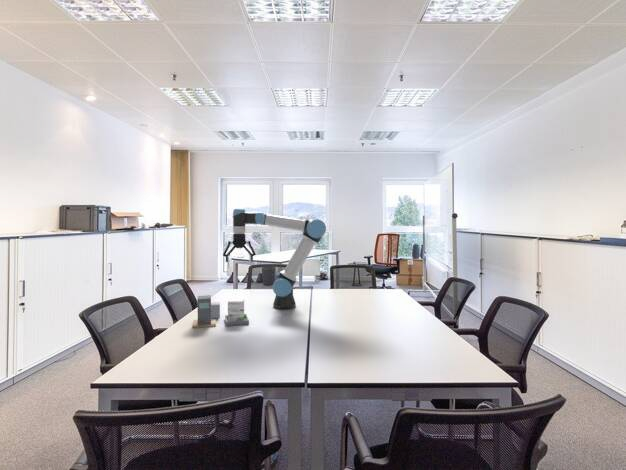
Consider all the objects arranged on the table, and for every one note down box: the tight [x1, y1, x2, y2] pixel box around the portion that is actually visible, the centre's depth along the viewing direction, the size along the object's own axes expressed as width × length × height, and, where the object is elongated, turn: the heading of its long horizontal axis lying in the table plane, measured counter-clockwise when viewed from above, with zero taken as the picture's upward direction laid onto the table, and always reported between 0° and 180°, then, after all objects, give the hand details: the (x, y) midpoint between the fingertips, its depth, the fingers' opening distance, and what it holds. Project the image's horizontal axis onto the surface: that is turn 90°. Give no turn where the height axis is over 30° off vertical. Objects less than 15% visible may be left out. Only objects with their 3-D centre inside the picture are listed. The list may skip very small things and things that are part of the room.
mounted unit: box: [192, 295, 217, 329], centre depth 190 cm, size 12×12×15 cm
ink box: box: [227, 299, 245, 321], centre depth 194 cm, size 9×5×12 cm, turn 87°
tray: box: [224, 313, 250, 327], centre depth 194 cm, size 12×13×2 cm
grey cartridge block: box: [211, 301, 221, 319], centre depth 205 cm, size 5×6×8 cm
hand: (239, 266), depth 215 cm, fingers open, 13 cm apart
